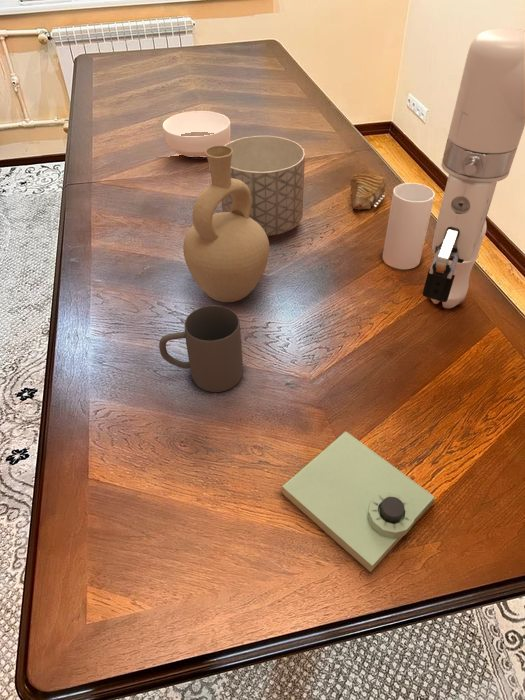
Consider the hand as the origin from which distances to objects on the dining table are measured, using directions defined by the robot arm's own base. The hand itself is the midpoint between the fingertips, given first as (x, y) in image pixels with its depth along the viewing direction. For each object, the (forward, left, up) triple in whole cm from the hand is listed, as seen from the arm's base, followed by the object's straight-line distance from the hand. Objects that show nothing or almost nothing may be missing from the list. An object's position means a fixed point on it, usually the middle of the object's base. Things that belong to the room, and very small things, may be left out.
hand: (443, 278), depth 73 cm
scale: (-6, +21, -25) cm, 33 cm away
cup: (+25, -33, -25) cm, 48 cm away
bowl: (+102, -37, -25) cm, 111 cm away
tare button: (-11, +21, -22) cm, 32 cm away
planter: (+57, -21, -25) cm, 66 cm away
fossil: (+46, -48, -25) cm, 71 cm away
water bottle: (+10, -27, -25) cm, 38 cm away
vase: (+43, +2, -25) cm, 50 cm away
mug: (+28, +21, -25) cm, 43 cm away
